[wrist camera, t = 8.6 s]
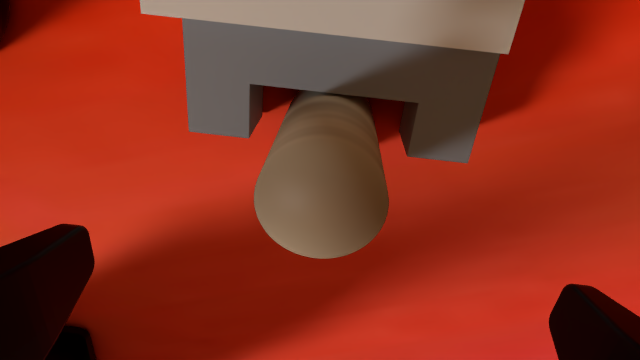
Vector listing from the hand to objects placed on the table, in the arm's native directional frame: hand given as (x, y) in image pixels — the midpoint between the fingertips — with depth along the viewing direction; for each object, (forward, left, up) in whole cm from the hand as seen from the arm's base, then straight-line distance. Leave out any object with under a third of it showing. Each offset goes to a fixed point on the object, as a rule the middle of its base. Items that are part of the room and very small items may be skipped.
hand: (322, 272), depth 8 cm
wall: (+4, +1, -10) cm, 11 cm away
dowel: (-1, 0, -10) cm, 10 cm away
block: (+1, 0, -10) cm, 10 cm away
